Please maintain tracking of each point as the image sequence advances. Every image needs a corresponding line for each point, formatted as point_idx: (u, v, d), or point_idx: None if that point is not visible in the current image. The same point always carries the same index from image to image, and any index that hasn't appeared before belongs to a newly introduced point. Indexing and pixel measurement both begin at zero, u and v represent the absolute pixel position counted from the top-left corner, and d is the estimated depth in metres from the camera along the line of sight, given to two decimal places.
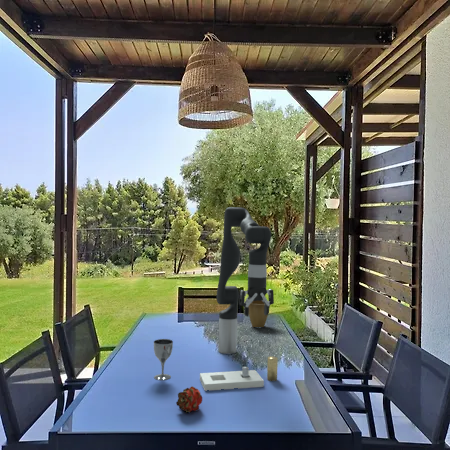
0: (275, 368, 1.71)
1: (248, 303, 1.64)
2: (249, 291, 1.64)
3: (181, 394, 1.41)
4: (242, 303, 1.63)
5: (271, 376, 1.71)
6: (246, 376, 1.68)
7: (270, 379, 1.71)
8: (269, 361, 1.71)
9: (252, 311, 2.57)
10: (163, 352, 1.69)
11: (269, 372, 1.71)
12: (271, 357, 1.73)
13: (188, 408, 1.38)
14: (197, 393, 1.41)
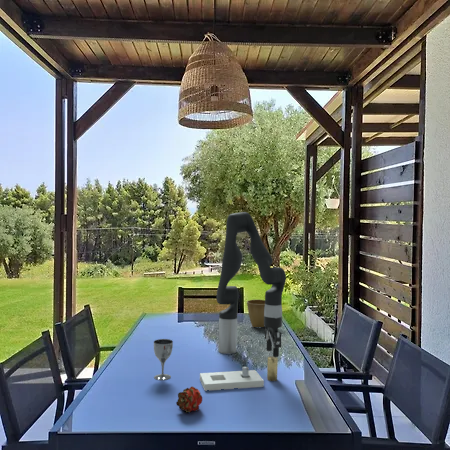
0: (275, 368, 1.71)
1: None
2: (277, 331, 1.69)
3: (181, 394, 1.41)
4: None
5: (271, 376, 1.71)
6: (246, 376, 1.68)
7: (270, 379, 1.71)
8: (269, 361, 1.71)
9: (252, 311, 2.57)
10: (163, 352, 1.69)
11: (269, 372, 1.71)
12: (271, 357, 1.73)
13: (188, 408, 1.38)
14: (197, 393, 1.41)
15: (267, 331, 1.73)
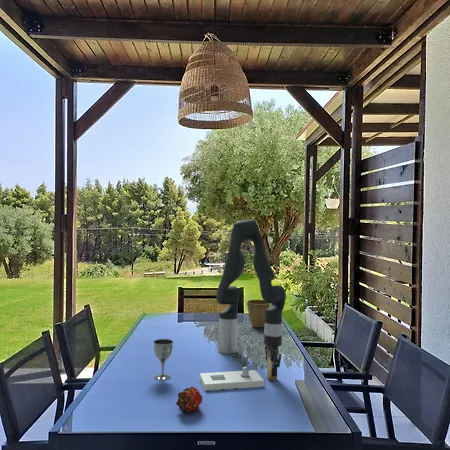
0: None
1: None
2: (278, 351, 1.69)
3: (181, 394, 1.41)
4: None
5: (271, 375, 1.71)
6: (246, 376, 1.68)
7: (270, 379, 1.71)
8: (269, 361, 1.71)
9: (252, 311, 2.57)
10: (163, 352, 1.69)
11: (269, 372, 1.71)
12: None
13: (188, 408, 1.38)
14: (197, 393, 1.41)
15: (267, 349, 1.74)
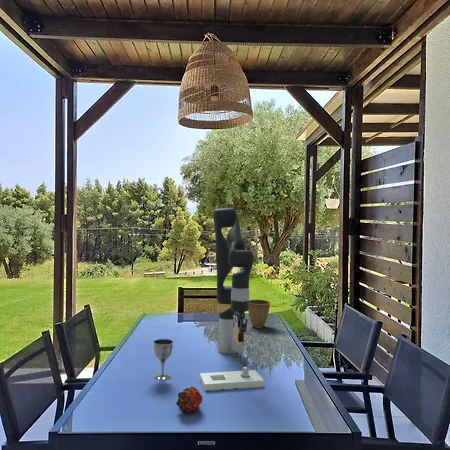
0: None
1: None
2: (244, 316, 1.65)
3: (181, 394, 1.41)
4: (245, 329, 1.64)
5: None
6: (246, 376, 1.68)
7: (237, 345, 1.67)
8: (236, 327, 1.67)
9: (252, 311, 2.57)
10: (163, 352, 1.69)
11: (236, 338, 1.67)
12: None
13: (188, 408, 1.38)
14: (197, 393, 1.41)
15: (234, 315, 1.69)
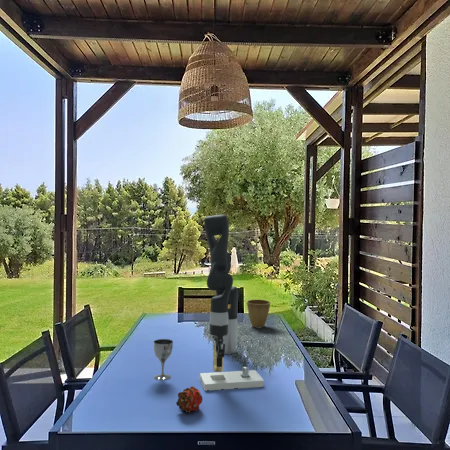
0: None
1: (222, 353, 1.65)
2: (222, 340, 1.63)
3: (181, 394, 1.41)
4: (223, 354, 1.62)
5: (216, 366, 1.65)
6: (246, 376, 1.68)
7: (215, 370, 1.65)
8: (214, 351, 1.65)
9: (252, 311, 2.57)
10: (163, 352, 1.69)
11: (214, 362, 1.65)
12: None
13: (188, 408, 1.38)
14: (197, 393, 1.41)
15: (213, 339, 1.67)
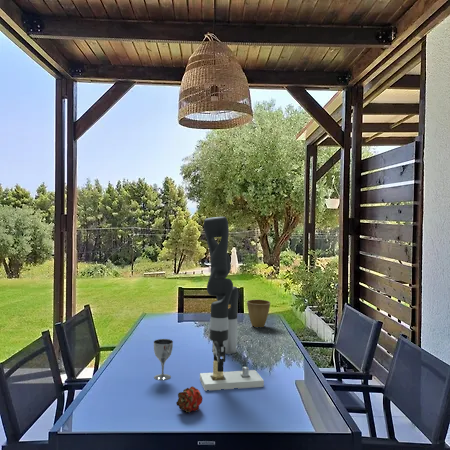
0: (220, 372, 1.65)
1: None
2: (223, 345, 1.63)
3: (181, 394, 1.41)
4: None
5: None
6: (246, 376, 1.68)
7: None
8: (214, 365, 1.65)
9: (252, 311, 2.57)
10: (163, 352, 1.69)
11: (214, 376, 1.65)
12: (217, 361, 1.67)
13: (188, 408, 1.38)
14: (197, 393, 1.41)
15: (213, 344, 1.67)
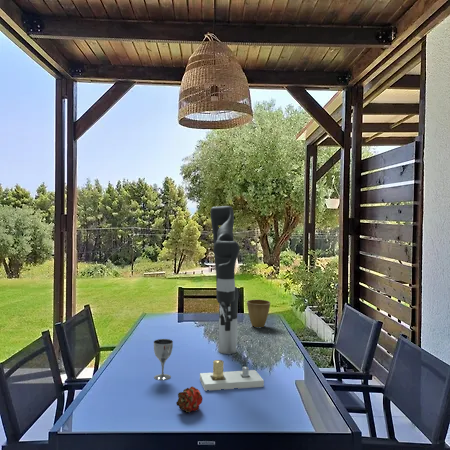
0: (220, 372, 1.65)
1: None
2: (229, 305, 1.67)
3: (181, 394, 1.41)
4: (232, 318, 1.64)
5: None
6: (246, 376, 1.68)
7: None
8: (214, 365, 1.65)
9: (252, 311, 2.57)
10: (163, 352, 1.69)
11: (214, 376, 1.65)
12: (217, 361, 1.67)
13: (188, 408, 1.38)
14: (197, 393, 1.41)
15: (220, 305, 1.71)
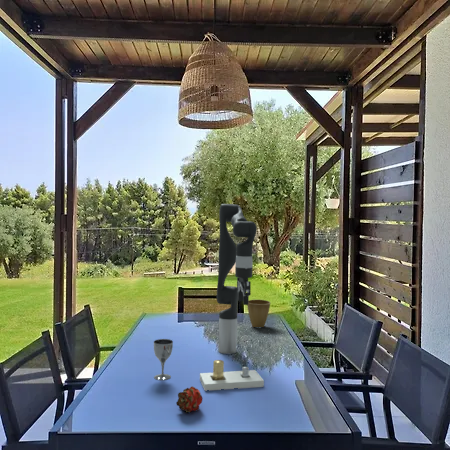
0: (221, 372, 1.65)
1: None
2: (248, 281, 1.79)
3: (181, 394, 1.41)
4: None
5: None
6: (246, 376, 1.68)
7: None
8: (215, 365, 1.65)
9: (252, 311, 2.57)
10: (163, 352, 1.69)
11: (214, 376, 1.65)
12: (217, 361, 1.67)
13: (188, 408, 1.38)
14: (197, 393, 1.41)
15: (238, 282, 1.83)
